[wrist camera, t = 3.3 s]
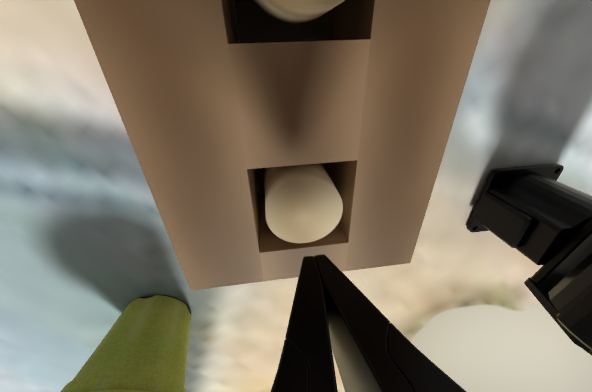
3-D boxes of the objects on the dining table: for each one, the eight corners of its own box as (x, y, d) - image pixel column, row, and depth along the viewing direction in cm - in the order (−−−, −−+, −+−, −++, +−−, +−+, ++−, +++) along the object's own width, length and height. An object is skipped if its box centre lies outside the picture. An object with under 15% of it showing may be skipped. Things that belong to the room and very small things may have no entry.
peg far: (322, 142, 16) (345, 175, 11) (320, 194, 18) (340, 239, 13) (261, 146, 15) (261, 182, 11) (267, 199, 17) (269, 247, 13)
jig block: (435, -164, 10) (606, -378, 5) (373, 211, 21) (410, 262, 16) (94, -182, 9) (-123, -490, 4) (209, 228, 19) (190, 290, 14)
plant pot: (128, 267, 20) (52, 387, 13) (225, 300, 24) (210, 408, 17) (92, 325, 24) (15, 448, 16) (184, 346, 27) (155, 454, 20)
